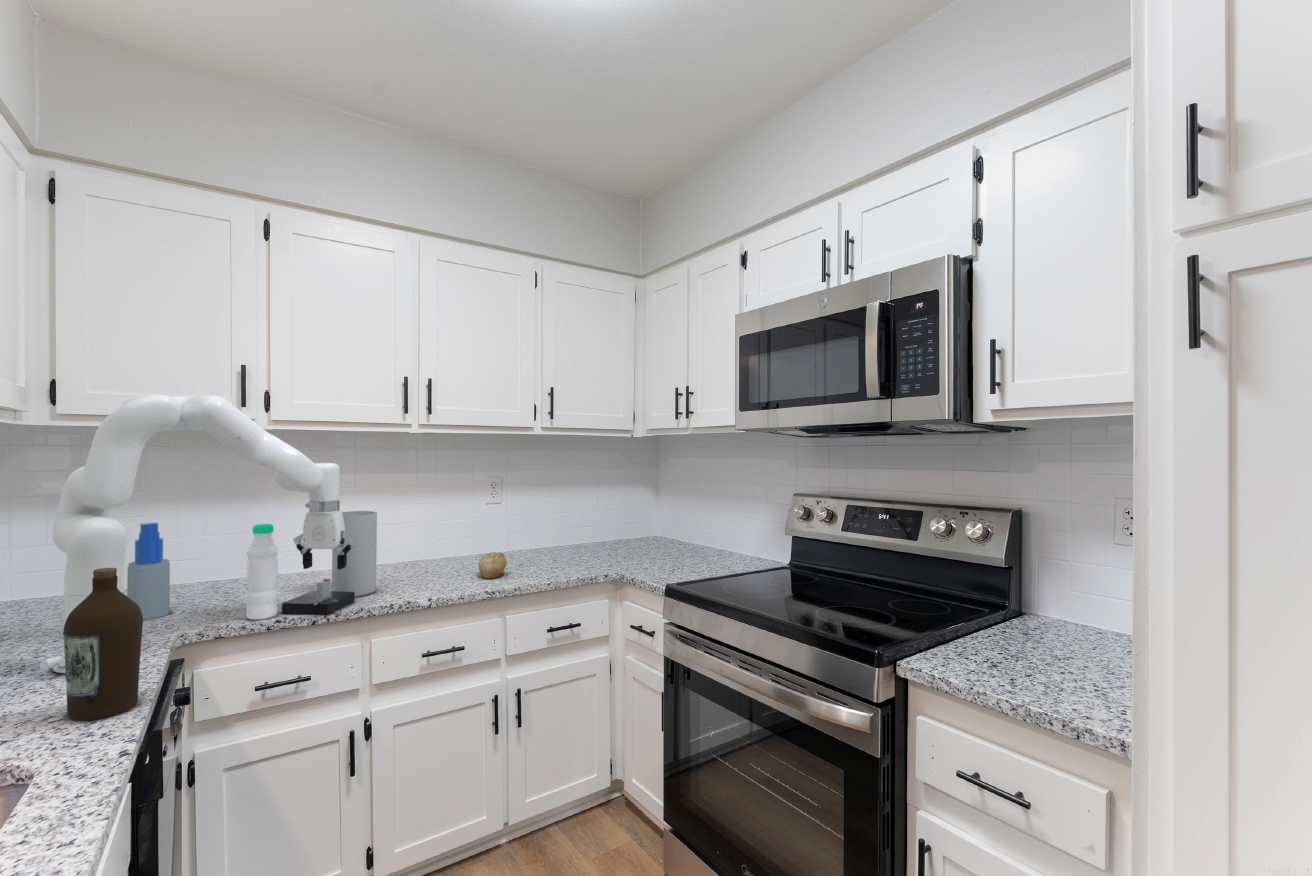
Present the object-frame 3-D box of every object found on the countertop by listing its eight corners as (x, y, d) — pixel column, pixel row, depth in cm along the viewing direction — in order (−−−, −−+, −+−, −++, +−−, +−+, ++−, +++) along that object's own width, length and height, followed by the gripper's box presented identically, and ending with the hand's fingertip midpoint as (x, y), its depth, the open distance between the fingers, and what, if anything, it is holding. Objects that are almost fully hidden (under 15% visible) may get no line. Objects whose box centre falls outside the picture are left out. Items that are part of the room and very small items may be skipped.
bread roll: (507, 570, 231) (508, 548, 231) (505, 579, 216) (505, 556, 216) (480, 571, 229) (481, 549, 229) (476, 580, 214) (477, 556, 214)
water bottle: (262, 621, 165) (263, 526, 165) (239, 619, 166) (240, 525, 166) (283, 614, 172) (284, 523, 172) (261, 612, 173) (262, 522, 173)
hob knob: (321, 602, 172) (322, 582, 172) (316, 602, 172) (316, 581, 172) (330, 598, 176) (330, 578, 176) (325, 598, 176) (325, 578, 176)
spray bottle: (120, 621, 163) (121, 525, 163) (135, 612, 172) (136, 521, 172) (162, 618, 167) (163, 524, 167) (174, 609, 175) (175, 520, 175)
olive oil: (108, 695, 117) (110, 562, 117) (157, 699, 116) (158, 564, 116) (45, 720, 107) (46, 574, 107) (97, 725, 105) (99, 577, 105)
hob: (329, 616, 170) (329, 604, 170) (278, 615, 170) (278, 603, 170) (358, 601, 185) (358, 591, 185) (311, 600, 186) (312, 590, 186)
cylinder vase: (383, 588, 201) (383, 511, 201) (364, 598, 189) (365, 515, 189) (344, 587, 202) (345, 510, 202) (323, 597, 189) (324, 515, 189)
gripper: (286, 508, 171) (286, 570, 171) (347, 509, 170) (347, 571, 170) (302, 505, 178) (302, 564, 179) (361, 505, 178) (361, 565, 178)
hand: (324, 568), depth 174 cm, fingers open, 9 cm apart
